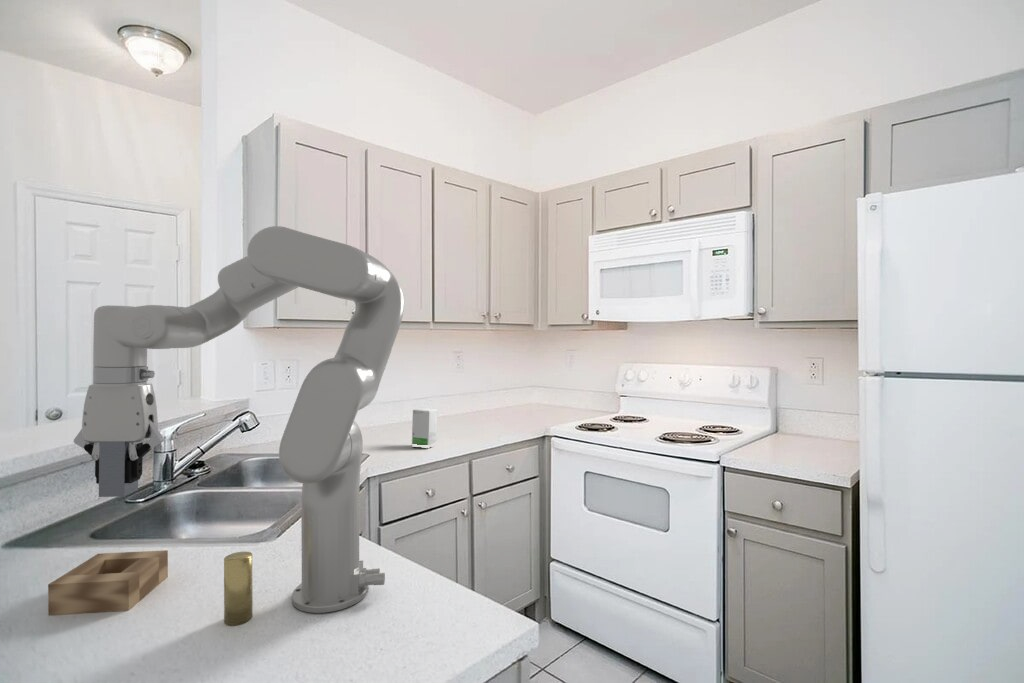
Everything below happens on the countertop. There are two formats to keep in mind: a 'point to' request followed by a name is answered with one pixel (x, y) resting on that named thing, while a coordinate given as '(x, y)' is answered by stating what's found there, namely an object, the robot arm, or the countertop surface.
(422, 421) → the skincare box
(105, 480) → the square bit
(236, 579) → the round bit
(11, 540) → the countertop surface
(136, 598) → the bore block
